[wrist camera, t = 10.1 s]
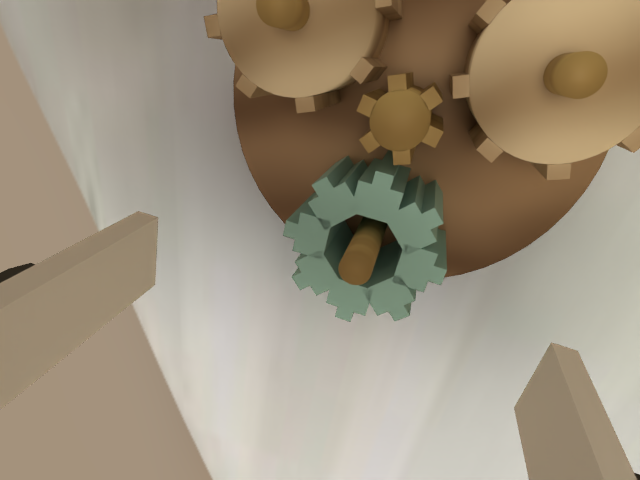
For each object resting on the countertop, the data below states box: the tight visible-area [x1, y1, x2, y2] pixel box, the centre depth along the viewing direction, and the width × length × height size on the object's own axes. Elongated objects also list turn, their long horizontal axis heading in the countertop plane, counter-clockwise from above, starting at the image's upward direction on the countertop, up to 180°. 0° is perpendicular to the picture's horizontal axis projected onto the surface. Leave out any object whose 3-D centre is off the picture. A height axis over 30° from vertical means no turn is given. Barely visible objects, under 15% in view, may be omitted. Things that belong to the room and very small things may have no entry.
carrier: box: [204, 0, 640, 285], centre depth 19 cm, size 19×19×8 cm
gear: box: [283, 150, 447, 322], centre depth 22 cm, size 8×8×5 cm
